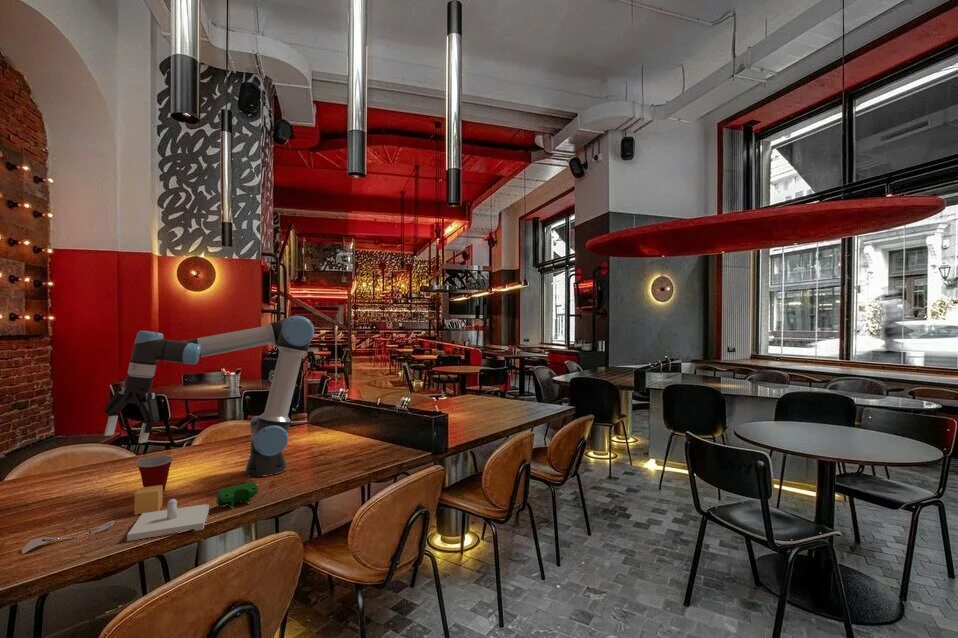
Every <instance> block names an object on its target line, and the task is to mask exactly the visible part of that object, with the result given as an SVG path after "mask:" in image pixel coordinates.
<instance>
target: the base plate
mask: <svg viewBox="0 0 958 638" xmlns="http://www.w3.org/2000/svg"><path fill="white" fill-rule="evenodd" d="M166 506H167V507H166V509H162V510H159V511H155V512H148V513H142V515H139V517H138V519H137V520H136V522H135V523H134V524H133V526H132V527H131V529H130V530H129V531H128V533H127V534H126V538H127V539H126V542H127V541H130V540H135V539H142V538H146V537H151V536H156V535H161V534H165V533H171V532H178V531H185V530H191V529H194V530H195V531H194V532H197V531H202V530H204V528H205V526H204V524H205V525H206V523H205V521H206V522H207V520H206V518H207V519H208V517H209V514H210V512H209V510H210V511H211V503H205V504H198V505H197V504H196V505H191V506H184V507H183V506H182V507H178V500H176V499H175V498H171V499H169V500H168V502H167V505H166ZM208 513H209V514H208ZM207 516H208V517H207Z"/></svg>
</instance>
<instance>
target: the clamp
mask: <svg viewBox="0 0 958 638" xmlns="http://www.w3.org/2000/svg"><path fill="white" fill-rule="evenodd" d="M258 493H259V486H257V484H256V482H254V481H249V482H246V483H241V484H236V485H233V486H229V487H225V488H220V489H217V491H216V504H217V506H218V507H219V506H223V505H226V504H228V505H230V506H231V507H234V508H235V504H234V503H236V502H240V501H247V502H250V503H251V500H250V498H252V497H255V496H257V494H258ZM240 503H241V502H240ZM230 506H229V507H230Z"/></svg>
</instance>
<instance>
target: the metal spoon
mask: <svg viewBox="0 0 958 638" xmlns="http://www.w3.org/2000/svg"><path fill="white" fill-rule="evenodd" d="M115 523H117V522H116V520H110V521H108V522H105V523H104V524H102V525H100V526H98V527H97V528H95V529H92V530H91V531H89V532H90V533H95V532H99V533H100V531H101V532H103V531H104V530H107V529H109V528H110V527H112V526H113V525H114V524H115ZM89 532H85V533H82V534H79V535H76V536H75V535H74V536H66V537H64V536H63V537H60V536H59V537H51V536H50V537H47V536H41V537H36V538H34V539H33V538H32V540H30V541H28V542H27V543H26V545H25V546H24V547H23V548H22V550H21V554H22V555H24V554H27V552H29V551H31V550H32V549H35V548H37V547H38V546H41V545H43V544H46V543H49V542H52V541H55V540H56V541H57V540H66V539H67V540H69V539H72V538H74V539H77V538H76V537H79V536H82V535H84V534H89ZM82 537H83V536H82ZM79 538H80V537H79Z"/></svg>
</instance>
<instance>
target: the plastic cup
mask: <svg viewBox="0 0 958 638" xmlns="http://www.w3.org/2000/svg"><path fill="white" fill-rule="evenodd" d="M173 460H174V457H173V456H171V455H167V454H166V455H164V454H161V455H153V456H152V455H151V456H149V457H145V458H142V459H139V460H138V461H137V462H136V467H138V470H139V472H140V478H141V482H142V487H149V486H157V485H163V493H165V490H166V486H167V482H168V478H169V472H170V467H171V465H172V462H173Z"/></svg>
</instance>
